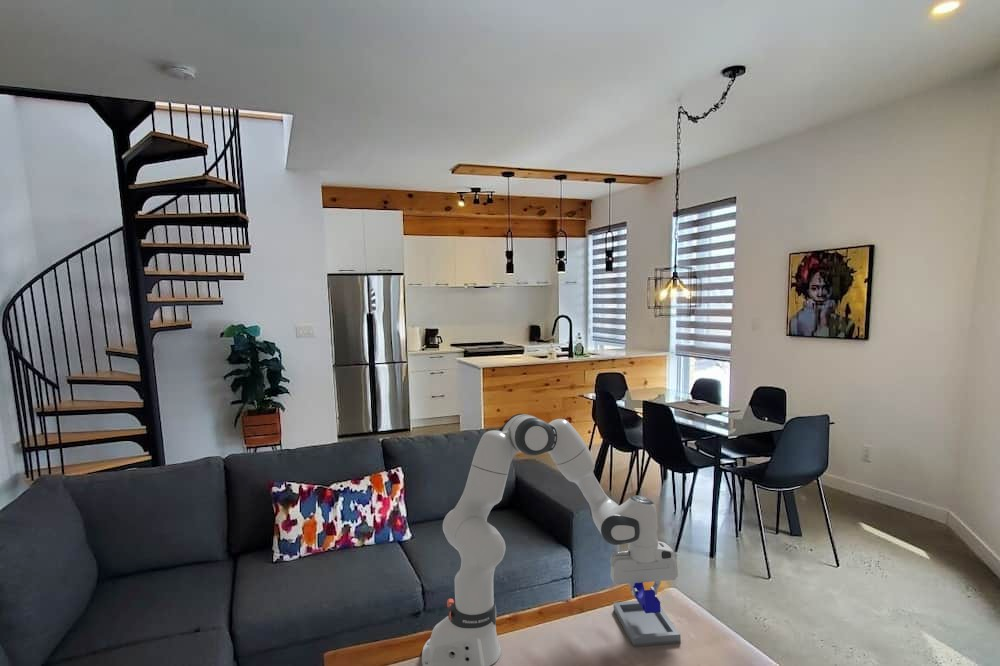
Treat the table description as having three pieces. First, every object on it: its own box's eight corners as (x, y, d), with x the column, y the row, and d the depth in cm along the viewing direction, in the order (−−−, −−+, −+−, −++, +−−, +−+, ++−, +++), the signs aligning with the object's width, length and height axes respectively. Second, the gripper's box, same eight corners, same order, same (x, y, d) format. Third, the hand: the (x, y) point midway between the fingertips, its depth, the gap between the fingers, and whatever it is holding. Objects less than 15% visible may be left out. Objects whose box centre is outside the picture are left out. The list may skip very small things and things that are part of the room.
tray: (633, 647, 140) (633, 638, 139) (613, 610, 157) (613, 602, 157) (680, 642, 141) (680, 634, 141) (655, 607, 159) (655, 599, 159)
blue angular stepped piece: (660, 612, 143) (660, 591, 143) (645, 613, 142) (645, 593, 142) (644, 589, 155) (644, 571, 155) (631, 590, 154) (630, 572, 154)
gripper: (613, 557, 145) (614, 603, 145) (679, 552, 146) (680, 597, 147) (606, 547, 151) (608, 591, 151) (670, 543, 153) (671, 586, 153)
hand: (644, 594), depth 149 cm, fingers closed on blue angular stepped piece, 4 cm apart
